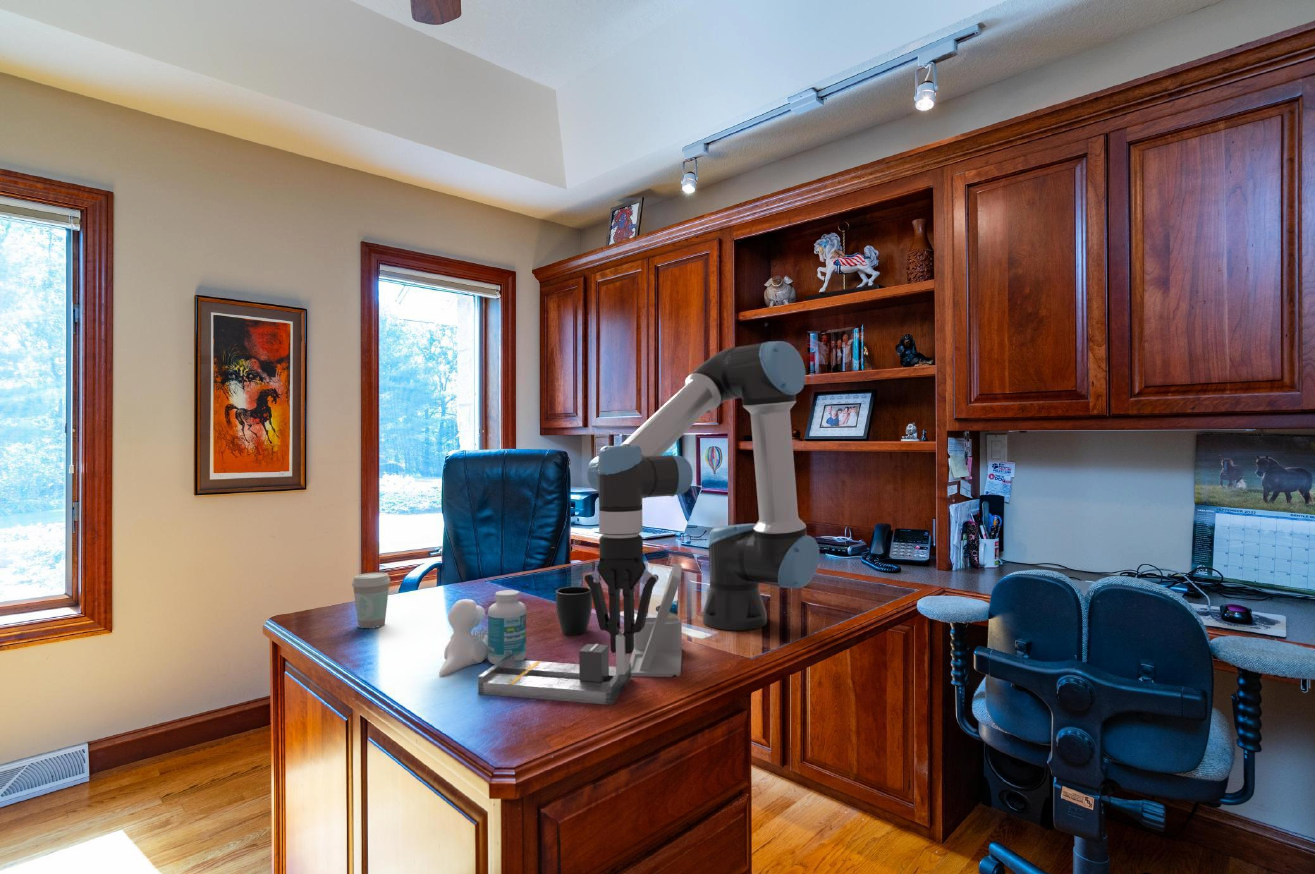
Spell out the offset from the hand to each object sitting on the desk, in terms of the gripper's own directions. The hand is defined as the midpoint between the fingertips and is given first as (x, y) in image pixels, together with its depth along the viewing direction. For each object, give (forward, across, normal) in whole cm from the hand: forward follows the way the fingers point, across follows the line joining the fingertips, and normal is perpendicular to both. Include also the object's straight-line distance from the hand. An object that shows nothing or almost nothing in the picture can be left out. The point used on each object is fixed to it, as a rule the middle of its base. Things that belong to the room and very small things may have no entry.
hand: (622, 671), depth 111 cm
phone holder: (+4, -2, -17) cm, 17 cm away
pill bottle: (+4, +27, -11) cm, 30 cm away
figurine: (+4, +35, -9) cm, 37 cm away
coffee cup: (+4, +71, -28) cm, 77 cm away
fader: (+2, +5, 0) cm, 6 cm away
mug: (+4, +21, -34) cm, 40 cm away
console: (+3, +12, 0) cm, 13 cm away
